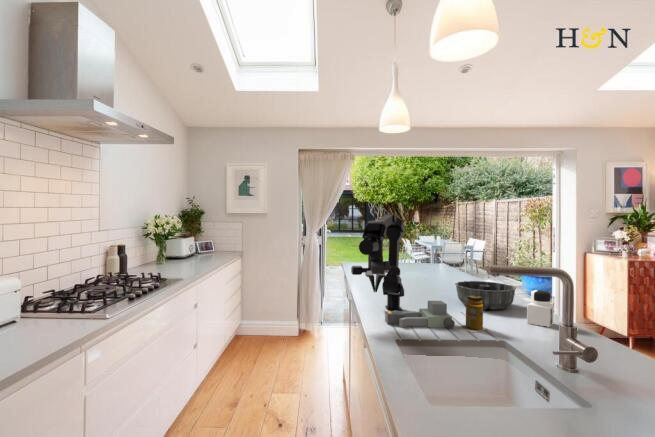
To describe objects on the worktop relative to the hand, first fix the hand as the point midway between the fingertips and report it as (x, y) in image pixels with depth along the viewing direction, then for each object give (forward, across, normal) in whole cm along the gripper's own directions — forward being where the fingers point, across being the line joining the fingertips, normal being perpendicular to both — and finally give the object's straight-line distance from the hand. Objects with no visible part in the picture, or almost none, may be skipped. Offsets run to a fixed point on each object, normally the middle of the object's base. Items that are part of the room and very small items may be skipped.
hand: (375, 292), depth 137 cm
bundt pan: (+12, +57, +27) cm, 64 cm away
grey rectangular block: (+12, +8, 0) cm, 15 cm away
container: (+12, +66, -1) cm, 67 cm away
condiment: (+12, +36, -7) cm, 39 cm away
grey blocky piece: (+12, +19, 0) cm, 22 cm away
